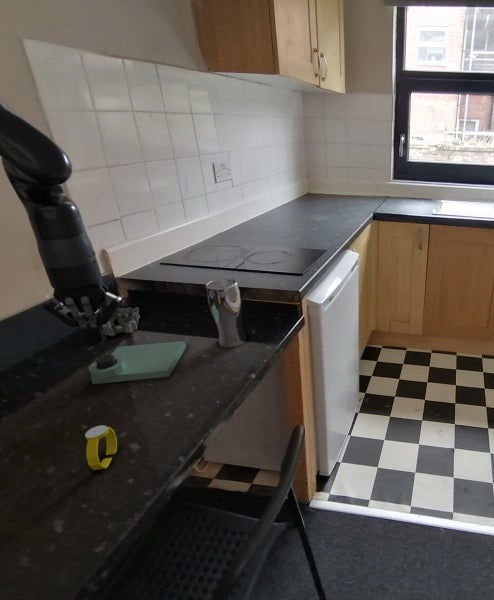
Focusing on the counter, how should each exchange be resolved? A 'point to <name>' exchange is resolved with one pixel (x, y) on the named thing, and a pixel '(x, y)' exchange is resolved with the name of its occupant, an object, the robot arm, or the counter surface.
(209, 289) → the beer glass
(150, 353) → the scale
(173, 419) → the counter surface
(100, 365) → the power button
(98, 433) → the watch
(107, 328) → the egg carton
